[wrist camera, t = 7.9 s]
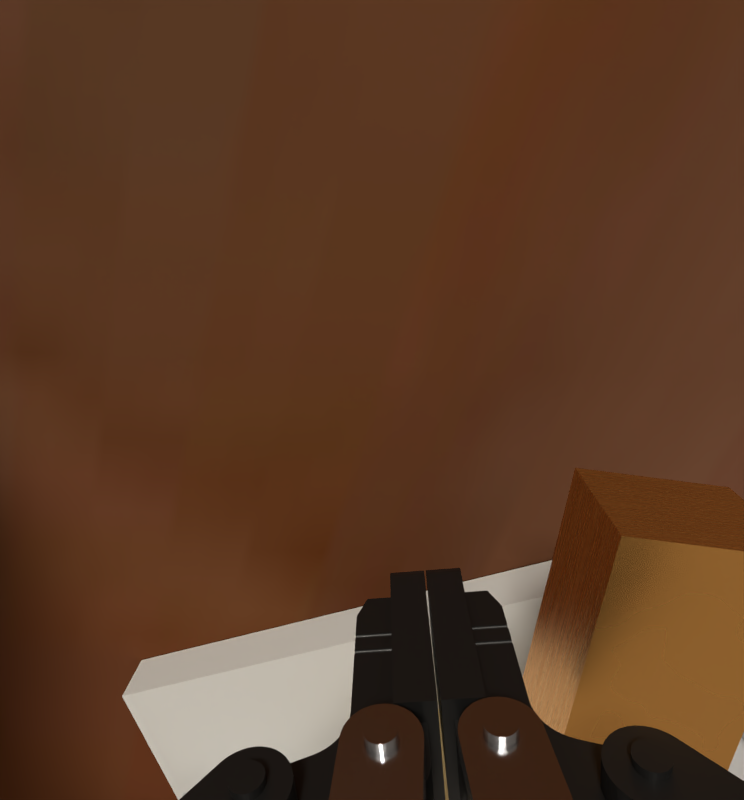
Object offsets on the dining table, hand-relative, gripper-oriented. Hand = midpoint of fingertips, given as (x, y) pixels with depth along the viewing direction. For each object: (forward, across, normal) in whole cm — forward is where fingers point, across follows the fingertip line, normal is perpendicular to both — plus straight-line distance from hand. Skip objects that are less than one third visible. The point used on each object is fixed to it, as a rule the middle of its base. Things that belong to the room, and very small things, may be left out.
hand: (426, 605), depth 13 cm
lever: (0, -2, +6) cm, 7 cm away
